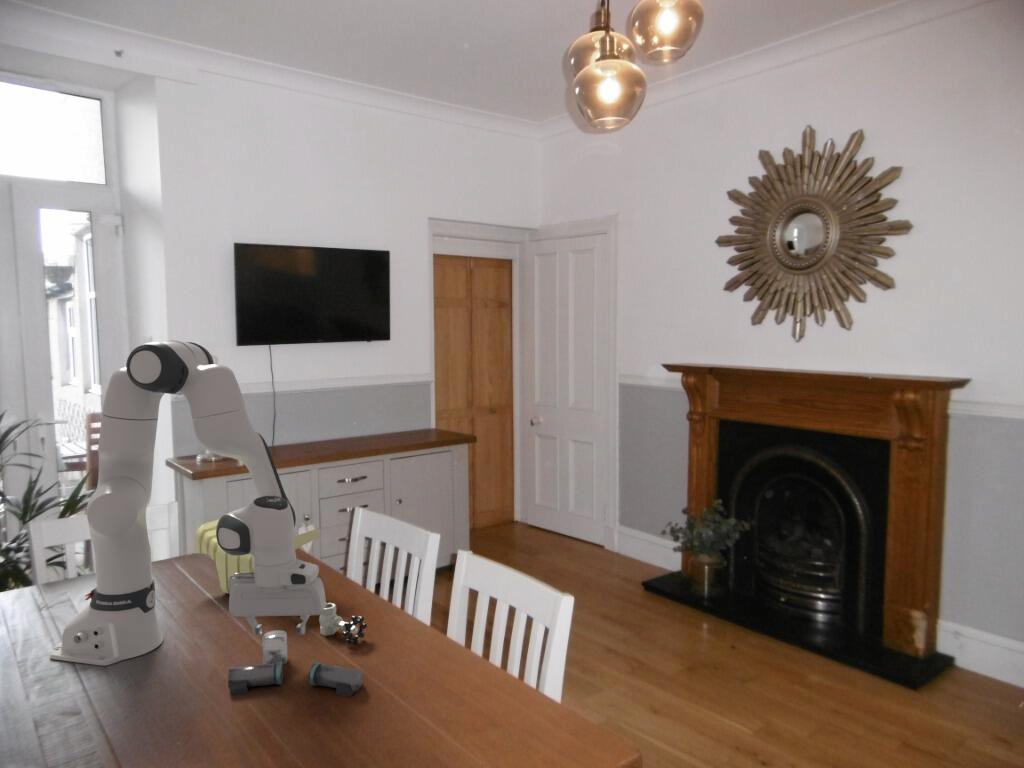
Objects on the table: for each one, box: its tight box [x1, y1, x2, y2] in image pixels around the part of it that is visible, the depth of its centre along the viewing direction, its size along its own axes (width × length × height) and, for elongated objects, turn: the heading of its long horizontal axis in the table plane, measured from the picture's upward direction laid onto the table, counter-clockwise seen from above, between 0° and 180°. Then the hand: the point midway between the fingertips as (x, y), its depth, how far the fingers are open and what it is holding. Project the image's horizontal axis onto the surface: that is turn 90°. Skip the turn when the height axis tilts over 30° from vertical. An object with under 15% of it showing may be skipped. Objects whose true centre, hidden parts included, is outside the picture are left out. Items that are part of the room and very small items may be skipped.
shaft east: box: [307, 661, 364, 698], centre depth 146 cm, size 10×5×4 cm, turn 73°
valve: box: [318, 602, 368, 645], centre depth 168 cm, size 7×7×12 cm
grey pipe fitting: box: [227, 661, 284, 696], centre depth 146 cm, size 10×5×4 cm, turn 103°
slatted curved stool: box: [194, 518, 319, 595], centre depth 195 cm, size 30×16×18 cm, turn 60°
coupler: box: [261, 629, 288, 666], centre depth 156 cm, size 5×5×6 cm
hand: (279, 633), depth 157 cm, fingers open, 8 cm apart
